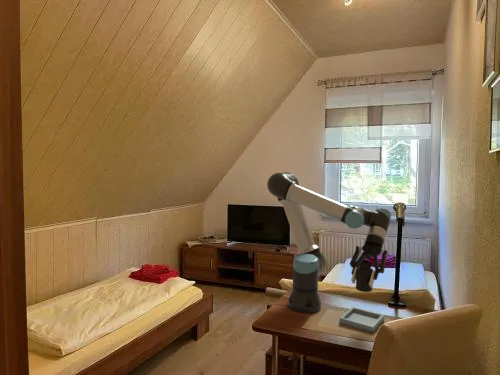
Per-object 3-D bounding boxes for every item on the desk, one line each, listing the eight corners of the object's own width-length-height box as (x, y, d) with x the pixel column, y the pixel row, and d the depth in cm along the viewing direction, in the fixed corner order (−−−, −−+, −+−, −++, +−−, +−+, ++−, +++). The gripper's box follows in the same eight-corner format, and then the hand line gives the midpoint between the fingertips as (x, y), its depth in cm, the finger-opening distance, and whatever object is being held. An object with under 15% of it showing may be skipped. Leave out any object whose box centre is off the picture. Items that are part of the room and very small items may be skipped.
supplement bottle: (373, 293, 151) (374, 264, 150) (356, 291, 152) (357, 263, 152) (371, 287, 158) (372, 260, 157) (355, 286, 159) (356, 259, 158)
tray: (339, 323, 154) (339, 317, 154) (352, 312, 166) (352, 306, 166) (372, 333, 146) (373, 327, 146) (384, 320, 158) (384, 314, 158)
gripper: (399, 246, 161) (387, 293, 149) (355, 240, 172) (341, 283, 160) (397, 236, 156) (384, 284, 144) (352, 230, 167) (336, 274, 155)
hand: (361, 283), depth 152 cm, fingers closed on supplement bottle, 7 cm apart
